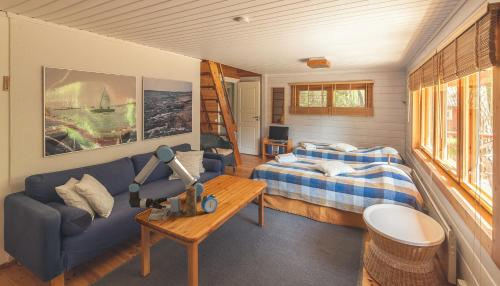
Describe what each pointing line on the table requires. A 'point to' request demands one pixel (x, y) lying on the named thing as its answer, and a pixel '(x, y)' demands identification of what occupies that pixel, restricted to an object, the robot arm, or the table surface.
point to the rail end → (175, 204)
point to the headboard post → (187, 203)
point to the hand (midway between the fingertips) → (172, 203)
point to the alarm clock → (209, 203)
